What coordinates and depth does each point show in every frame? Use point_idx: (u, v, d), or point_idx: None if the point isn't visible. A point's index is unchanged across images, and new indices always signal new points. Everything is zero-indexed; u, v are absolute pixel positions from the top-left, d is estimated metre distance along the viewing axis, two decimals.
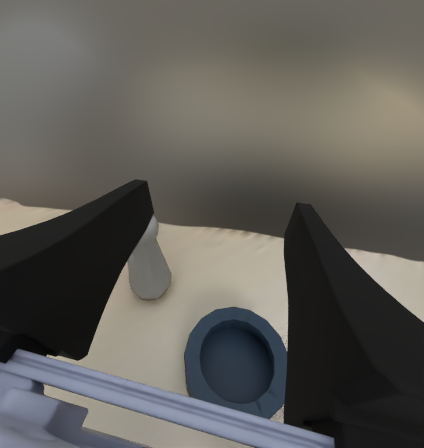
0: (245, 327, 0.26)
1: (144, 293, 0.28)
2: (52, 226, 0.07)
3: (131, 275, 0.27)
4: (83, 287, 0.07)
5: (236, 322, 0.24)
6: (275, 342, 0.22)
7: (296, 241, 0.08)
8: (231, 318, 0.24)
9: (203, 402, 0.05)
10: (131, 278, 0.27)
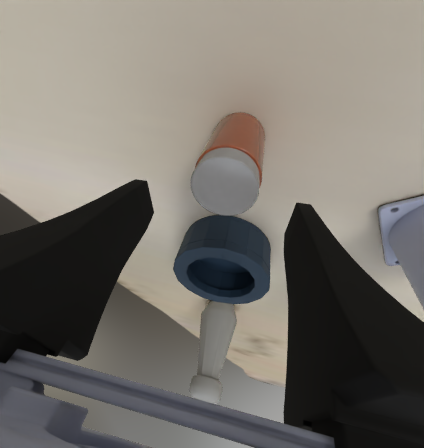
0: None
1: (232, 319, 0.32)
2: (52, 226, 0.07)
3: (230, 339, 0.32)
4: (83, 287, 0.07)
5: (196, 280, 0.25)
6: (183, 261, 0.21)
7: (296, 241, 0.08)
8: (197, 288, 0.25)
9: (203, 402, 0.05)
10: None
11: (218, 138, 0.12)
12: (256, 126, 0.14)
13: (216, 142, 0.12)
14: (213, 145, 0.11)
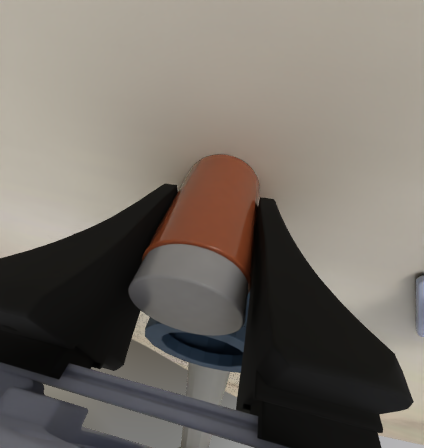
0: None
1: (224, 371, 0.28)
2: (95, 235, 0.06)
3: (222, 396, 0.27)
4: (123, 296, 0.07)
5: (176, 344, 0.20)
6: (156, 331, 0.16)
7: (257, 234, 0.09)
8: (177, 354, 0.20)
9: (203, 402, 0.05)
10: None
11: (178, 216, 0.07)
12: (245, 179, 0.09)
13: (172, 227, 0.07)
14: (166, 235, 0.07)
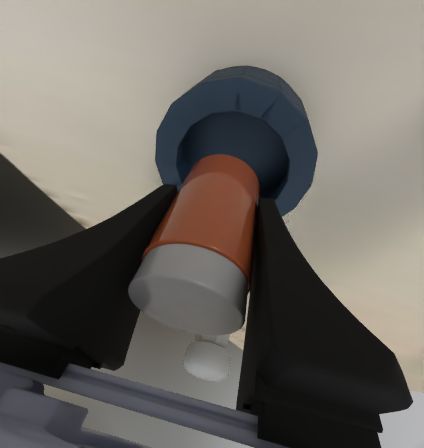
0: (183, 165, 0.18)
1: None
2: (95, 235, 0.06)
3: None
4: (123, 296, 0.07)
5: None
6: (170, 133, 0.13)
7: (257, 234, 0.09)
8: None
9: (203, 402, 0.05)
10: None
11: (178, 216, 0.07)
12: (245, 179, 0.09)
13: (172, 227, 0.07)
14: (166, 235, 0.07)
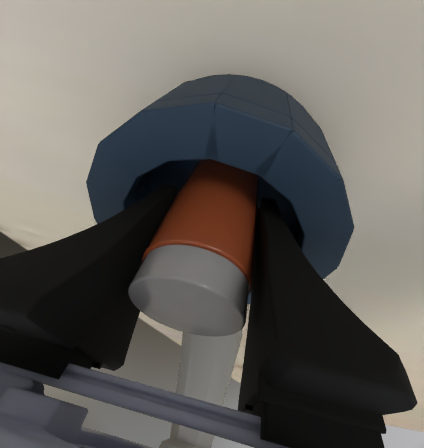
0: None
1: None
2: (95, 234, 0.06)
3: (233, 365, 0.19)
4: (123, 296, 0.07)
5: None
6: (108, 186, 0.08)
7: (258, 235, 0.09)
8: None
9: (203, 402, 0.05)
10: (235, 358, 0.19)
11: (178, 216, 0.07)
12: (246, 180, 0.09)
13: (172, 228, 0.07)
14: (166, 236, 0.07)
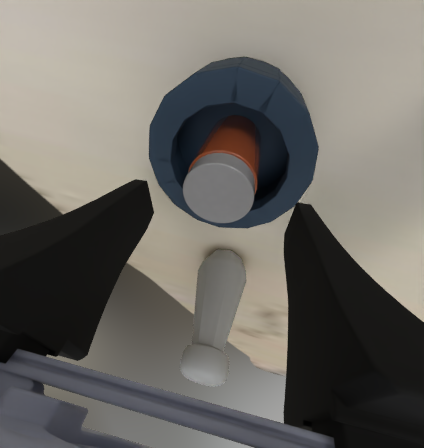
0: (178, 162, 0.17)
1: (240, 272, 0.23)
2: (51, 226, 0.07)
3: (239, 300, 0.23)
4: (83, 287, 0.07)
5: None
6: (164, 128, 0.12)
7: (296, 241, 0.08)
8: None
9: (203, 402, 0.05)
10: (240, 296, 0.23)
11: (211, 143, 0.12)
12: (252, 129, 0.14)
13: (209, 147, 0.11)
14: (206, 150, 0.11)
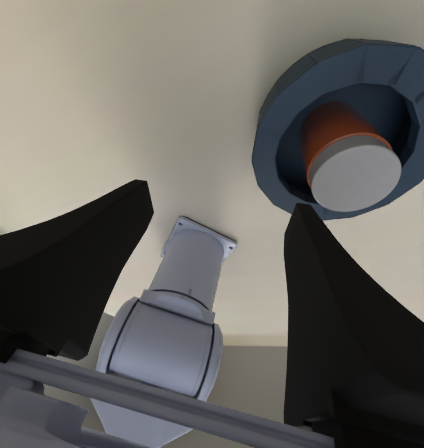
0: None
1: None
2: (51, 226, 0.07)
3: None
4: (83, 287, 0.07)
5: (389, 87, 0.10)
6: None
7: (296, 241, 0.08)
8: (384, 83, 0.10)
9: (203, 402, 0.05)
10: None
11: None
12: None
13: None
14: None
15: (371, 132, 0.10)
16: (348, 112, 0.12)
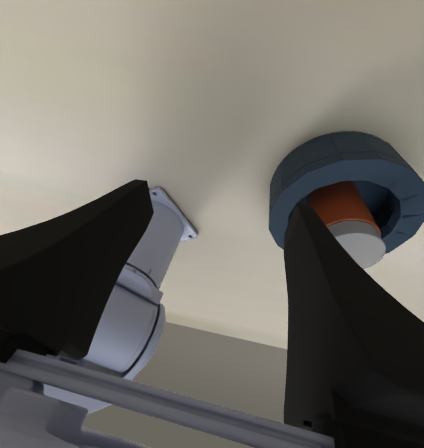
0: None
1: None
2: (51, 226, 0.07)
3: None
4: (83, 287, 0.07)
5: (396, 199, 0.14)
6: None
7: (296, 241, 0.08)
8: (399, 197, 0.14)
9: (203, 402, 0.05)
10: None
11: None
12: None
13: None
14: None
15: (377, 226, 0.13)
16: (361, 196, 0.16)
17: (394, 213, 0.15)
